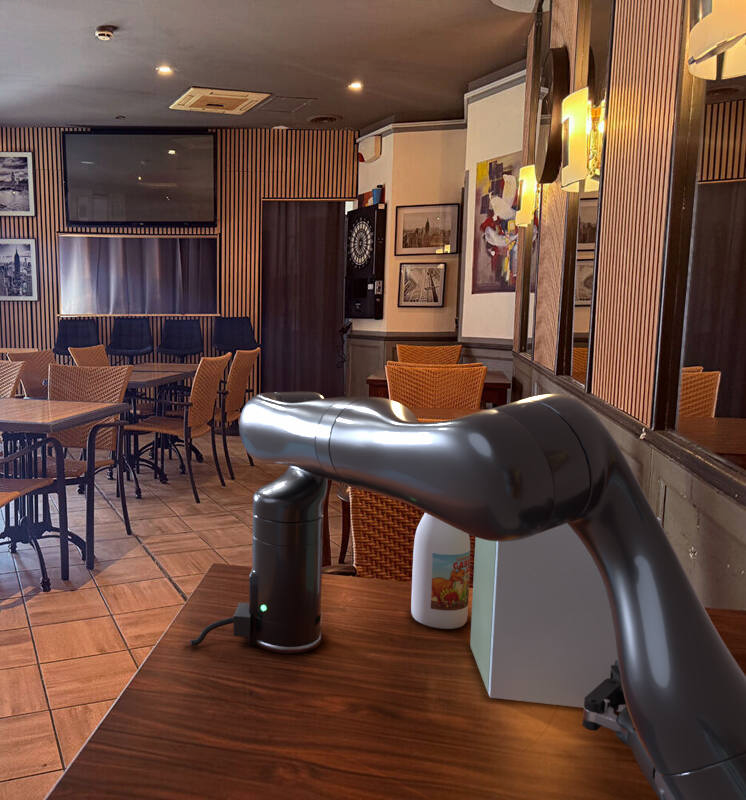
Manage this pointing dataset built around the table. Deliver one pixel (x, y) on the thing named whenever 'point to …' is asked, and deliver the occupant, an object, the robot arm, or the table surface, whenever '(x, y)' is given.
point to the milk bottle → (440, 574)
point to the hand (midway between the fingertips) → (621, 670)
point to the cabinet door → (549, 621)
